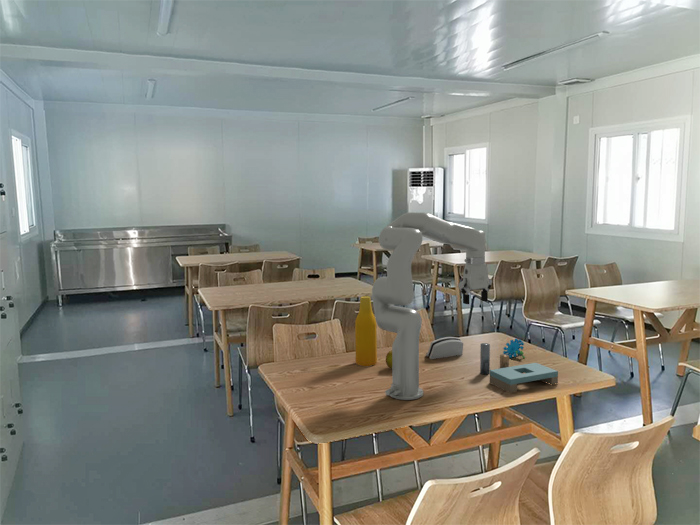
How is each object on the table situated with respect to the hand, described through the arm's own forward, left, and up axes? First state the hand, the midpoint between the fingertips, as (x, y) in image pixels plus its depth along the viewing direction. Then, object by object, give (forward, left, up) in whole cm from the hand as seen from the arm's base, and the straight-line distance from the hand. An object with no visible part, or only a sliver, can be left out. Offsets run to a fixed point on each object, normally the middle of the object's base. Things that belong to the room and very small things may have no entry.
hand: (475, 302), depth 223 cm
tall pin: (-4, -7, -28) cm, 29 cm away
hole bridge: (-6, -24, -28) cm, 37 cm away
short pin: (+5, -11, -28) cm, 30 cm away
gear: (+25, -6, -28) cm, 38 cm away
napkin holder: (+7, +18, -28) cm, 34 cm away
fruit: (-21, +24, -28) cm, 42 cm away
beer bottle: (-23, +39, -28) cm, 53 cm away
